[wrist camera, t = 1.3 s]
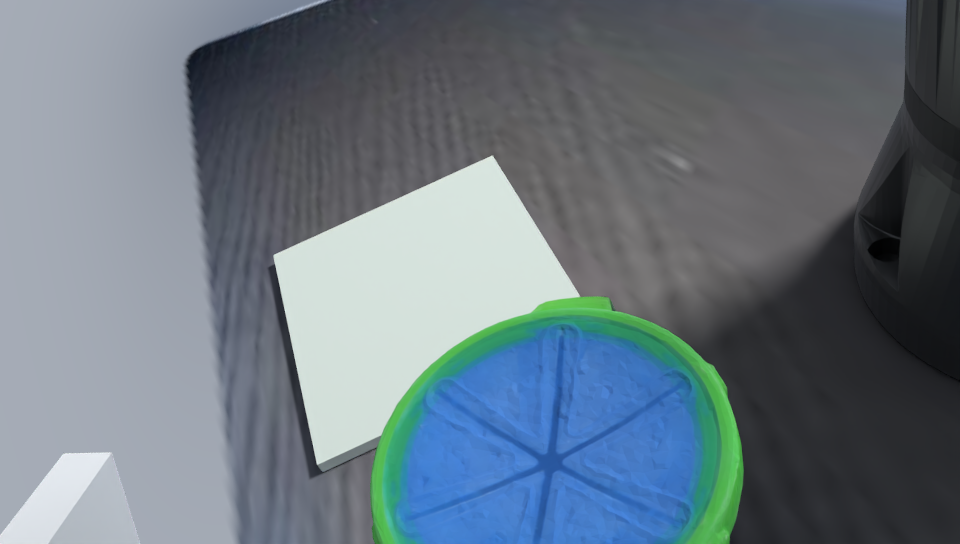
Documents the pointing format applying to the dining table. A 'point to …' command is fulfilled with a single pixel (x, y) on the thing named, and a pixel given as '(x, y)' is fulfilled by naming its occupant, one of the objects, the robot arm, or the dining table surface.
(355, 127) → the dining table surface
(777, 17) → the dining table surface
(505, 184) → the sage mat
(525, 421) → the snack cup
